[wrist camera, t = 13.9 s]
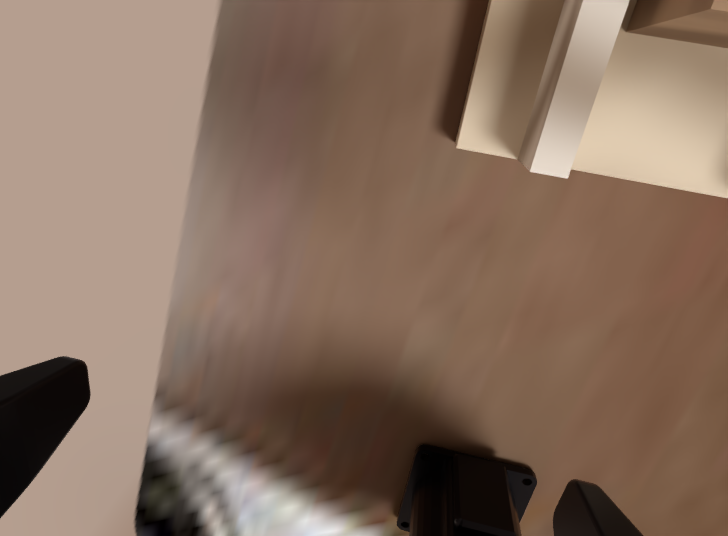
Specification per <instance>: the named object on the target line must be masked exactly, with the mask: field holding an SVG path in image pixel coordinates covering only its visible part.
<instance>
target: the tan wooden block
mask: <svg viewBox="0 0 728 536" xmlns="http://www.w3.org/2000/svg"><path fill="white" fill-rule="evenodd" d="M626 32H628V33H634V34H641V35H647V36H653V37H659V38H666V39H672V40H678V41H685V42H691V43H697V44H703V45H710V46H716V47H722V48H728V0H637V2H636V5H635V8H634V10H633V13H632V16H631V19H630V22H629V25H628V27H627V30H626Z"/></svg>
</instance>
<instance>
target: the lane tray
mask: <svg viewBox="0 0 728 536" xmlns="http://www.w3.org/2000/svg"><path fill="white" fill-rule="evenodd" d="M636 2H637V0H489V2H488V7H487V11H486V15H485V19H484V24H483V28H482V32H481V36H480V41H479V45H478V49H477V53H476V57H475V62H474V66H473V70H472V74H471V79H470V83H469V87H468V91H467V96H466V100H465V104H464V108H463V113H462V117H461V121H460V125H459V130H458V134H457V138H456V142H455V144H456V148H459V149H465V150H470V151H475V152H481V153H486V154H492V155H497V156H502V157H508V158H513V159H518V160H519V161H520V162H521V163H522V164H523V165H524V166H525V167H526V168H527V169H528V170H529V171H530V172H535V173H540V174H545V175H551V176H556V177H562V178H567V179H568V176H569V173H570V170H571V169H573V170H578V171H583V172H589V173H594V174H600V175H605V176H610V177H616V178H621V179H627V180H632V181H637V182H643V183H648V184H654V185H659V186H664V187H670V188H675V189H681V190H686V191H691V192H697V193H702V194H708V195H713V196H718V197H724V198H728V48H722V47H716V46H710V45H703V44H697V43H691V42H685V41H678V40H672V39H666V38H659V37H653V36H647V35H641V34H634V33H628V32H626V30H627V27H628V25H629V22H630V19H631V16H632V13H633V10H634V8H635V5H636Z"/></svg>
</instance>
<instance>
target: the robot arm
mask: <svg viewBox="0 0 728 536" xmlns="http://www.w3.org/2000/svg"><path fill="white" fill-rule="evenodd" d="M89 400H90V386H89V378H88V370H87V366H86V364H85V362H84V361H82V360H78V359H75V358H70V357H64V356H63V357H57V358H54V359H51V360H48V361H45V362H42V363H39V364H36V365H32V366H29V367H26V368H23V369H20V370H17V371H14V372H11V373H8V374H4V375H1V376H0V518H1V517H2V516H3V515H4V513H5V512H6V511H7V510H8V509H9V508H10V507H11V505H12V504H13V503H14V502H15V501H16V500H17V499H18V497H19V496H20V495H21V494H22V493H23V492H24V490H25V489H26V488H27V487H28V486H29V484H30V483H31V482H32V481H33V479H34V478H35V477H36V475H37V474H38V473H39V472H40V470H41V469H42V468H43V466H44V465H45V464H46V462H47V461H48V459H49V458H50V457H51V455H52V454H53V453H54V451H55V450H56V448H57V447H58V446H59V444H60V443H61V442H62V440H63V439H64V438H65V436H66V435H67V433H68V432H69V431H70V429H71V428H72V427H73V425H74V424H75V422H76V421H77V420H78V418H79V417H80V416H81V414H82V413H83V411H84V410H85V409H86V407H87V405H88V403H89ZM423 453H426V454H428V455H423ZM526 478H528V479H526ZM536 485H537V479H536V475H535V473H534V472H533V471H532V470H529V469H526V468H521V467H517V466H513V465H509V464H505V463H501V462H497V461H492V460H488V459H484V458H480V457H476V456H472V455H468V454H464V453H459V452H455V451H451V450H447V449H443V448H439V447H435V446H431V445H425V444H423V445H420V446H418V447H417V449H416V452H415V455H414V459H413V462H412V466H411V470H410V473H409V477H408V481H407V484H406V488H405V491H404V495H403V499H402V502H401V506H400V509H399V513H398V517H397V526H398V527H399V528H400V529H402V530H404V531H408V532H410V533H409V536H521V530H520V525H519V523H520V520H521V518H522V516H523V514H524V511H525V509H526V507H527V505H528V503H529V500H530V498H531V496H532V494H533V491H534V489H535V487H536ZM553 529H554V536H643V535H642V534H641V532H640V531H639V530H638V529H637V528H636V527H635V526H634V525H633V524H632V522H631V521H630V520H629V519H628V518H627V517H626V516H625V515H624V514H623V512H622V511H621V510H620V509H619V508H618V507H617V506H616V505H615V504H614V502H613V501H612V500H611V499H610V498H609V497H608V496H607V495H606V494H605V492H604V491H603V490H602V489H601V488H600V487H599V486H597V485H596V484H593V483H589V482H585V481H581V480H577V479H573V480H571V481H569V483H568V484H567V486H566V488H565V490H564V492H563V494H562V496H561V498H560V500H559V502H558V505H557V507H556V509H555V511H554V516H553Z"/></svg>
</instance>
